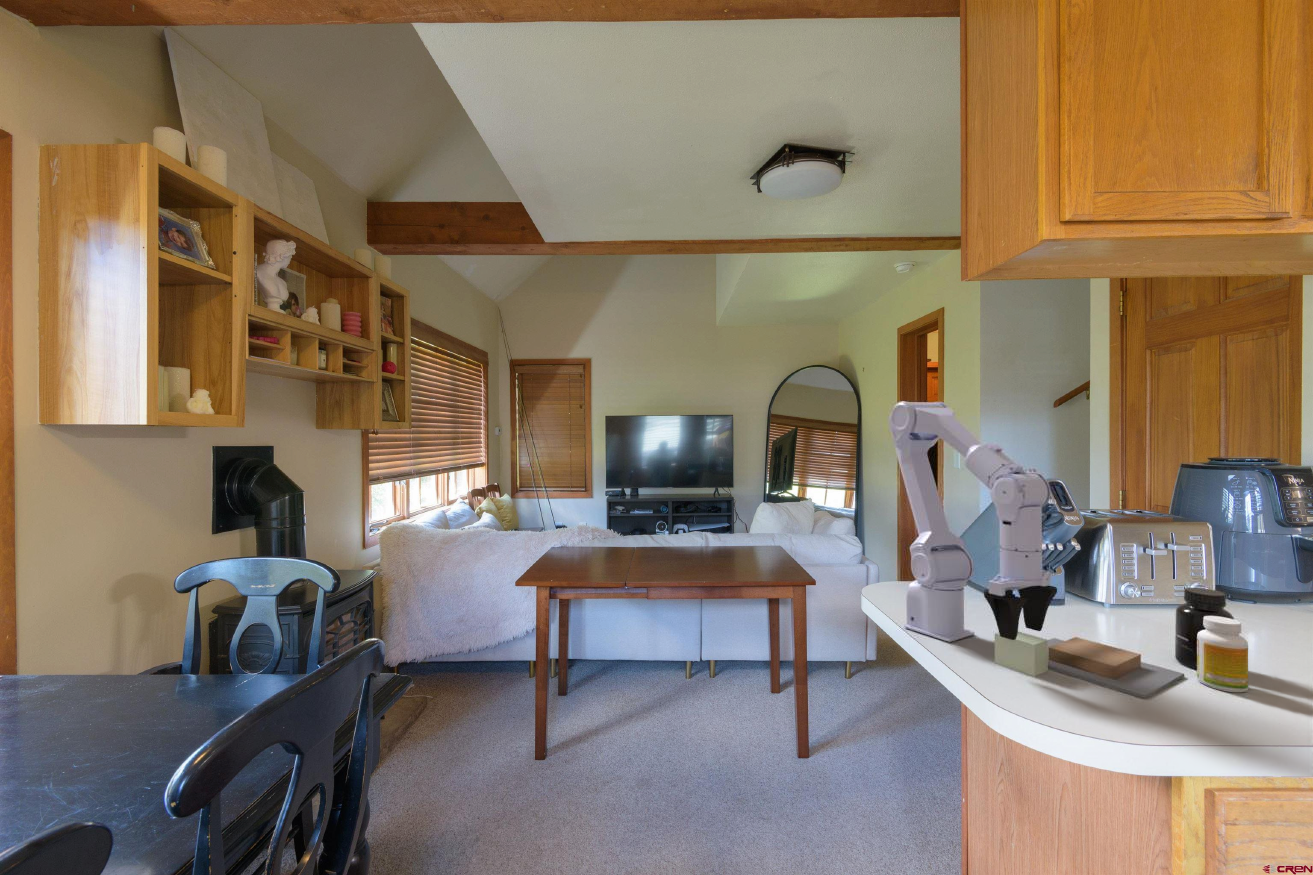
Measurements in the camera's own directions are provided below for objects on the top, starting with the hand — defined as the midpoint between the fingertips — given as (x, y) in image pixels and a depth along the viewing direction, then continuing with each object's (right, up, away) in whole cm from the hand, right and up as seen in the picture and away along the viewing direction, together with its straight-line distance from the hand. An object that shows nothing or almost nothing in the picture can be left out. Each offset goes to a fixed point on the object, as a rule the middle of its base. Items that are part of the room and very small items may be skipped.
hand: (1021, 633), depth 92 cm
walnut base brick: (+12, -5, 0) cm, 13 cm away
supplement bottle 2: (+25, -5, -7) cm, 27 cm away
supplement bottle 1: (+29, -5, 0) cm, 30 cm away
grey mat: (+12, -5, 0) cm, 13 cm away
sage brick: (0, -6, 0) cm, 6 cm away
